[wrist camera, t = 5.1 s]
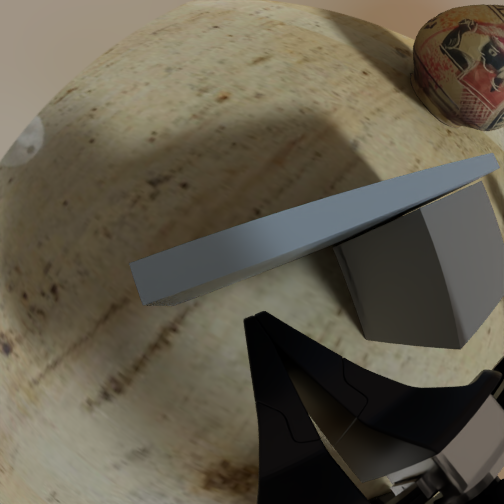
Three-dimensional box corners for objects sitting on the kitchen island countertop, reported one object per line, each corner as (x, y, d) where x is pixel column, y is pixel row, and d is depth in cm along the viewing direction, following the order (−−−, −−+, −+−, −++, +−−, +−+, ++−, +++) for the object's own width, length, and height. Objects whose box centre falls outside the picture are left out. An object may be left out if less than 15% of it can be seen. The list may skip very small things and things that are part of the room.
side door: (406, 213, 20) (499, 167, 11) (173, 305, 15) (142, 305, 6) (401, 202, 20) (492, 152, 11) (167, 289, 15) (128, 263, 6)
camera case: (431, 293, 20) (512, 282, 12) (366, 339, 18) (460, 349, 10) (404, 217, 21) (481, 180, 12) (332, 247, 18) (419, 208, 10)
